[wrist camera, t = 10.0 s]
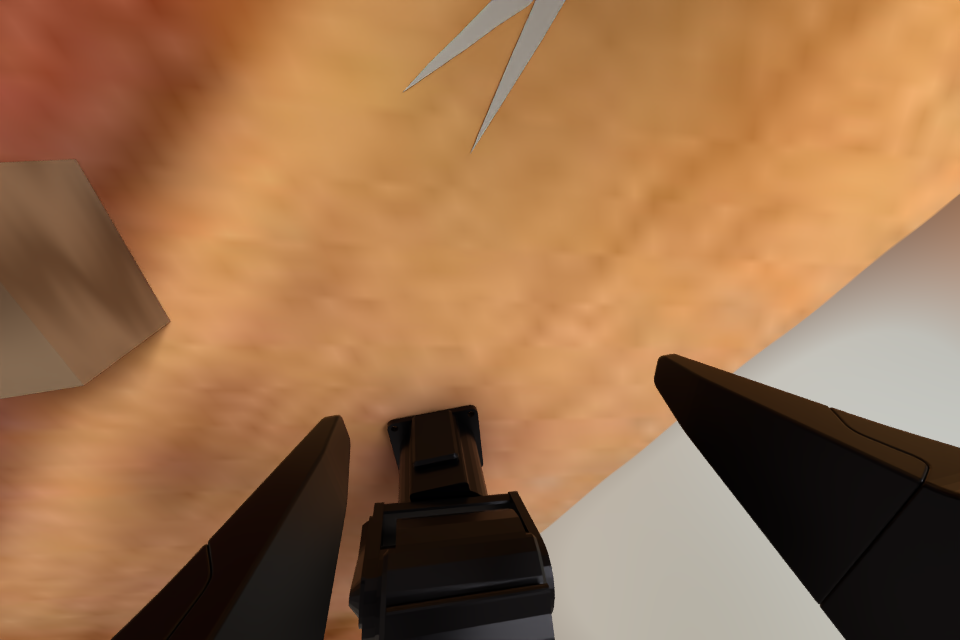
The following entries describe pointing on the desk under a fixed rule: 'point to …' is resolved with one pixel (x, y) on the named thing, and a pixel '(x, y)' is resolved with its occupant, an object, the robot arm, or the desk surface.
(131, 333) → the wooden block frame
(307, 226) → the desk surface
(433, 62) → the scissors
